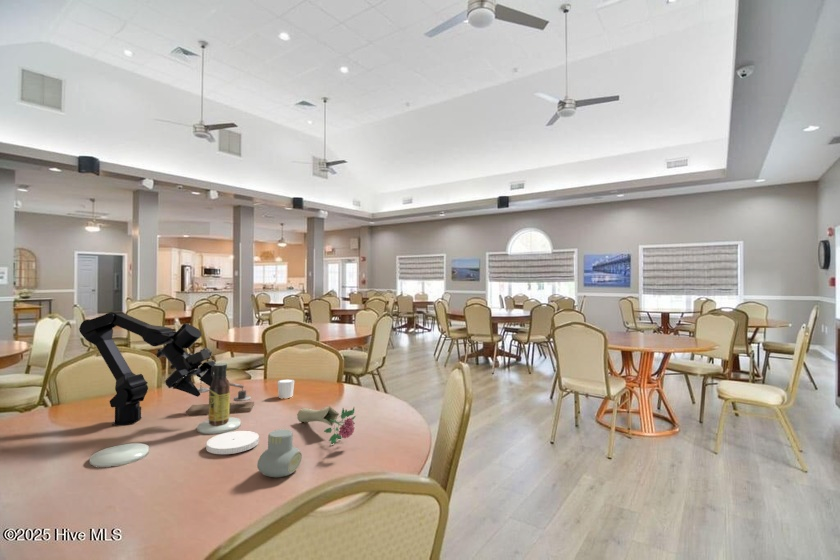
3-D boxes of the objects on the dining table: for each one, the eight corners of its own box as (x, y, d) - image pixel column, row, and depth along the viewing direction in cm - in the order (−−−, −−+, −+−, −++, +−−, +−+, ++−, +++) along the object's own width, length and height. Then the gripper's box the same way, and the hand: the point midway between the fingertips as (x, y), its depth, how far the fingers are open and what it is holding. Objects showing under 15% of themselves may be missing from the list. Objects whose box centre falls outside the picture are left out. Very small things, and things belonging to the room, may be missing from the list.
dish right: (191, 435, 127) (191, 431, 127) (203, 422, 140) (203, 418, 140) (236, 432, 130) (236, 428, 130) (244, 419, 143) (244, 416, 143)
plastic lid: (205, 461, 109) (206, 452, 109) (206, 443, 122) (206, 435, 122) (261, 452, 116) (261, 443, 116) (256, 436, 128) (256, 428, 128)
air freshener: (284, 484, 97) (284, 442, 97) (252, 481, 98) (253, 439, 98) (304, 464, 107) (305, 426, 108) (276, 462, 109) (276, 424, 109)
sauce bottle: (208, 421, 136) (209, 362, 137) (228, 419, 139) (229, 361, 140) (208, 427, 131) (209, 366, 131) (230, 424, 134) (231, 364, 134)
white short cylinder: (289, 400, 168) (289, 383, 168) (273, 399, 169) (274, 382, 169) (297, 395, 174) (297, 379, 174) (282, 394, 176) (283, 378, 176)
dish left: (78, 469, 103) (78, 464, 103) (105, 449, 116) (105, 445, 116) (136, 465, 106) (136, 460, 106) (156, 445, 119) (156, 441, 119)
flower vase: (314, 443, 141) (371, 450, 116) (281, 440, 134) (334, 447, 109) (321, 408, 146) (377, 408, 120) (289, 403, 139) (341, 402, 113)
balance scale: (185, 415, 147) (186, 379, 147) (192, 408, 154) (193, 374, 155) (250, 411, 152) (251, 377, 152) (254, 405, 159) (254, 372, 160)
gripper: (175, 345, 127) (206, 382, 126) (212, 338, 146) (240, 370, 144) (151, 369, 128) (182, 406, 126) (191, 359, 146) (219, 391, 145)
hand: (208, 392), depth 135 cm, fingers open, 9 cm apart
